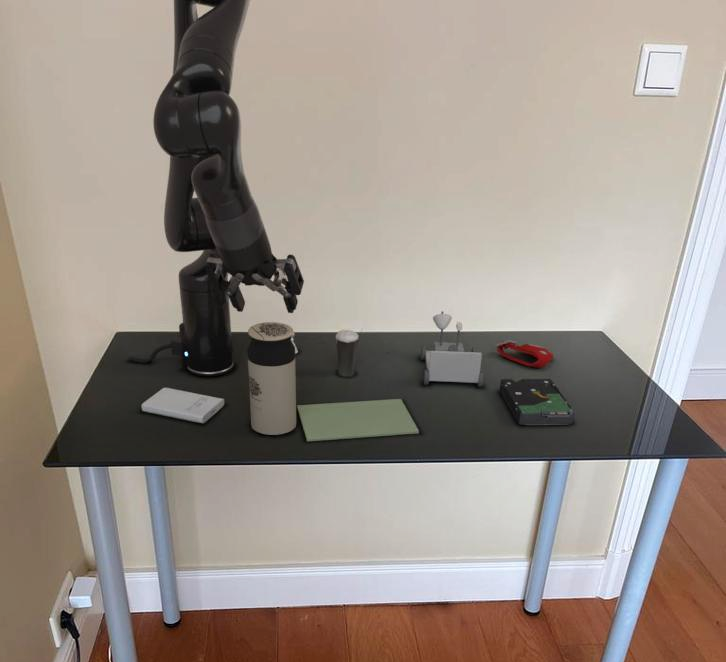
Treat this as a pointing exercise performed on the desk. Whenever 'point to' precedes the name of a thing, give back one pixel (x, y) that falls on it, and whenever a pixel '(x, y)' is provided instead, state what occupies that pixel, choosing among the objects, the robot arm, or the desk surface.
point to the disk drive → (536, 402)
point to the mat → (355, 420)
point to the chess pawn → (293, 342)
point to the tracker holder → (530, 349)
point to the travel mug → (272, 378)
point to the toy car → (451, 359)
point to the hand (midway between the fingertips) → (266, 308)
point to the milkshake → (346, 351)
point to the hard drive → (183, 405)
